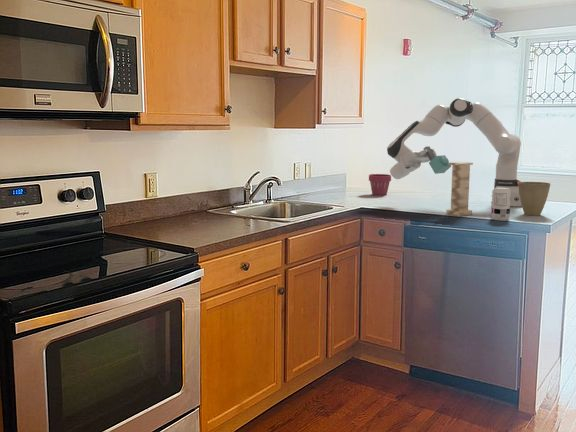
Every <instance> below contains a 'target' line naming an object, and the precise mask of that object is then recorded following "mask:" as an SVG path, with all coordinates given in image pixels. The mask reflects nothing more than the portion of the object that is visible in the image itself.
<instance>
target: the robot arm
mask: <svg viewBox="0 0 576 432" xmlns="http://www.w3.org/2000/svg"><path fill="white" fill-rule="evenodd" d="M467 120H468V121H469V122H471V123H472V124H473V125H474V126H475V127H476V128H477V129H478V130H479V131H480V132H481V133H482V134H483V136H485V138H486V139H487V140H488V142H489V143H490V144H491V145H492V147H493V148H494V149H495V151H496V152H497V153H498V157H497V162H496V164H495V178H494V181H493V183H494V184H493V189H494V188H496V187H504V188H510V191H511V199H510V207H522V205H521V200H520V195H519V188H518V182H522V181H521V180H518V179H517V176H518V175H517V174H518V163H519V157H520V154H521V153H520V151H521V145H522V141H521V139H520V138H519V136H517V135H516V134H512V133H510V132H509V131H508V130H507V129H506V127H505V126H504V125H503V123H502V121H500V120H499V119H498V118H497V117H496V115H494V113H493V112H492V111H491V110H490V109H488V107H486V106H485V105H483V104H482V103H481V102H474V103H472V102H471V101H469V100H468V99H465V98H462V97H457V98H455V99H453V101H452V102H451V103H450V105H449V106H445V105H443V104H436V105H435V106H433V107H432V108H431V110H429V111H428V113H427V114H426V115H425V117H424V118H423V119H421V120H416V121H414V122H412V123H411V124H410V125H409V126H408V127H407V128H406V129H404V131H403V132H401V134H399V136H397V137H396V138H395V139H394V140H393V141H391V142H390V143H389V144H388V146H387V147H386V152H387V155H388V156H389V157H391V158H392V159H394V160H395V161H396V162H397V163H395V164H394V165H393V166H392V167H391V168H390V170H389V173H390V175H391V177H393V178H394V179H395V180H401V179H403V178H405V177H407V176H408V175H410V174H411V173H413V172H415V171H416V170H417V169H419V168H420V167H421V165H422V163H429V162H430V160H429V158H428V156H427V154H426V153H427V152H428V149H425V150H424V149H423V150H421V151H420V150H419V151H413V150H411V149H410V148H409V147H408V146H407V145H406V144H405V142H406V141H407V140H408V139H409V138H410V137H411V136H412V135H413V134H418V135H422V136H426V137H433V136H435V135H437V134H438V132H440V130H441V129H442V127H444V125H445V124H446V125H448V126H451V127H460V126H462V125H463V124H464V123H465V121H467ZM431 150H432V151H433V153H434V155H435V156H438V155H437V153H436V151H435V149H434V148H431ZM490 203H491V204H492V201H491V202H490Z"/></svg>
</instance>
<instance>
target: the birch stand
mask: <svg viewBox="0 0 576 432" xmlns="http://www.w3.org/2000/svg"><path fill="white" fill-rule="evenodd" d="M448 165H451V168H452V169H451V196H450V209H446V211H445V214H446V215H450V214H451V215H452V216H456V215H457V216H456V217H465V216H469V215H470V216H471V214H472V215H473V210H471V209H469V201H470V200H469V198H470V197H469V195H470V194H469V193H470V177H471V176H470V175H471V174H470V171H471V166H473V165H474V162H466V161H454V162H453V161H452V162H450V161H449V163H448ZM464 215H465V216H464Z"/></svg>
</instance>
